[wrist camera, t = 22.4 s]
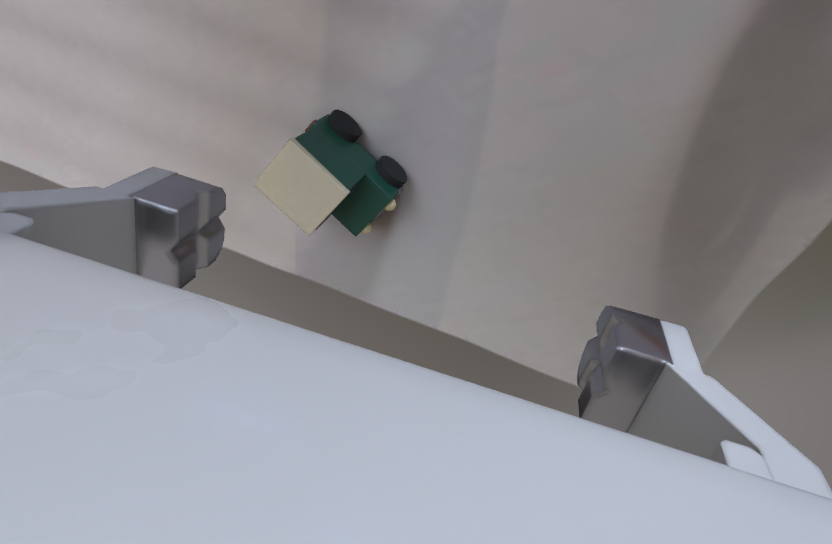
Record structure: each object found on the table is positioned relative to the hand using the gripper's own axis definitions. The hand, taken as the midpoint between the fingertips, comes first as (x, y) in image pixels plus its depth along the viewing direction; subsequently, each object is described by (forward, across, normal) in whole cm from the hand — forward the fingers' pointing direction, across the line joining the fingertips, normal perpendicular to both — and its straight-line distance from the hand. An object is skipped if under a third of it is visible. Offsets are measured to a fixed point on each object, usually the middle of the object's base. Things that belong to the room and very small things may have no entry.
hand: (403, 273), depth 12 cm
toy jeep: (+31, +10, +10) cm, 34 cm away
